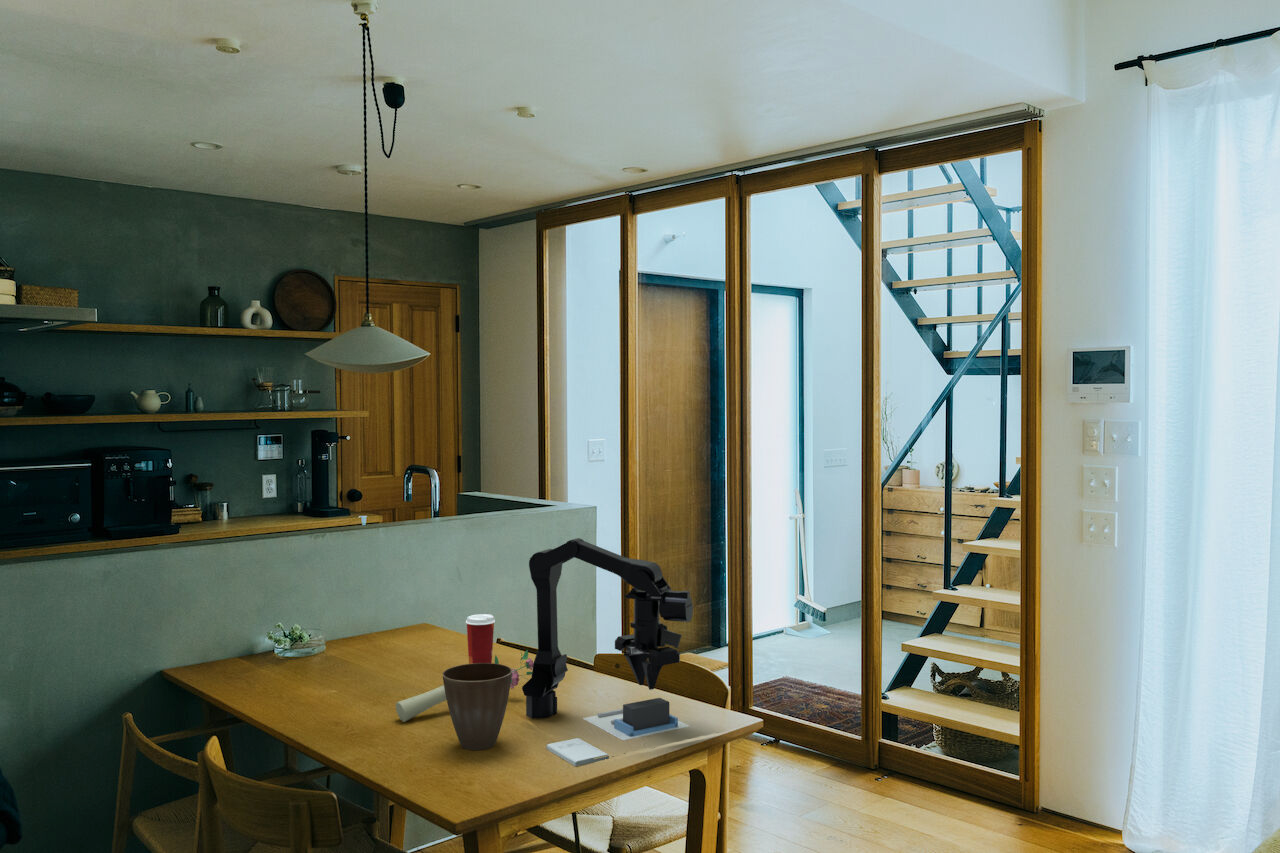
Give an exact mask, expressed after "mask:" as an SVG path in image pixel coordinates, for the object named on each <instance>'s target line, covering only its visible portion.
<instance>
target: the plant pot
mask: <svg viewBox="0 0 1280 853" xmlns="http://www.w3.org/2000/svg"><path fill="white" fill-rule="evenodd" d="M512 669H513V668H511V667H509V666H508V665H505V664H502V663H499V664H495V662H494V663H493V662H492V663H472V664H469V663H465V664H459V665H455V666H452V667H449V668H447V669H445V670H444V671H443V672H442V682H443V685H444V688H445V694H446V699H447V700H446V702H447V707H448V710H449V716H450V718H451V722H452V725H453V728H454V731H455V733H456V737H457V739H458V741H459V744H460V747H461V748H463V749H464V750H468V751H482V750H486V749H490V748H493V747H494V746H495V745H496V744H497V740H498V736H499V735H500V732H501V731H500V730H502V729H501V728H502V726H503V721H504V717H505V715H506V714H505V713H506V712H507V711H506V710H507V706H508V703H509V702H508V701H509V696H510V690H511V688H510V684H511V676H512Z"/></svg>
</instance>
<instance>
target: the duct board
mask: <svg viewBox="0 0 1280 853" xmlns="http://www.w3.org/2000/svg"><path fill="white" fill-rule="evenodd" d="M582 719H583V720H584V721H586V722H588V723H590V724H592V725H593V726H596V727H597V728H599V729H601V730H603V731H604V732H607V733H608V734H611V735H612V736H614V737H616V738H618V739H619V740H621V741H628V740H633V739H637V738H642V737H646V736H651V735H656V734H659V733H666V732H670V731H675V730H678V729H679V730H680V729H684V728H687V727H690V725H689V724H687V723H685V722H682V721H680V720H679V718H678V717H676V716H675V715H672V714H670V713H669V724H665V725H660V726H656V727H651V728H646V729H641V730H636V731H633V727H632V726H630V725H628V724H626V723H624V722H623V708H621V709H615V710H609V711H603V712H599V713H598V712H597V715H593V716H587V717H582Z"/></svg>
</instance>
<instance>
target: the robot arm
mask: <svg viewBox="0 0 1280 853" xmlns="http://www.w3.org/2000/svg"><path fill="white" fill-rule="evenodd" d="M572 559H578V560H580V561H581V562H582V561H583V562H585V563H587V564H589V565H593V566H595V567H597V568H600V569H602V570H604V571H606V572H607V571H608V572H609V573H612V574H615V575H617V576H618V577H620V578H621V579H622V580H623V581H624V582H625V583H627V584H628V585H630V586H631V587H632V588H631V589H630V591H629V592H628V593H627V594H625V596H624V597H625V599H628V600H630V599H631V600H633V622H632V621H631V622H630V624H629V625H630V626H629V627H630V628H631V629H633V634H627V635H626V634H625V635H620V636H617V638H615V640H614V650H617V651H620V652H623V651H624V649H625V648H626V651H625V652H624V653H623V657H625V659H626V661H627V663H628V664H629V667H630V668H631V670H632V672H633V674H634V677H635V679H636V681H637V684H638V686H643V685H644V684H645V680H646V684H647V687H648V690H649V691H652V690H654V689H655V687H656V684H657V680H658V678H659V676H660V672H661V670H662V668H663V666H666V665H671V664H679V663H680V662H681V652H679V651H678V650H677V649H679V647H680V642H681V639H682V634H679V633H677V632H673V631H671V630H668V626H667V625H666V624H664V623H663V622H660V618H662V619H663V620H664V621H670V622H682V623H690V622H691V621H692V618H693V614H694V603H693V600H692V597H691V592H690V590H682V591H680V590H672V587H671V586H670V585H669V583H668V582H667V580H666V579H665V577H664V576H663V571H662V569H661V566H660V565H659V564H658V563H656V562H654V561H649V560H644V559H638V558H631V557H630V558H629V557H625V556H623V555H620V554H618V553H615V552H612V551H610V550H607V549H606V548H602V547H600V546H598V545H595V544H593V543H590V542H587V541H585V540H583V539H582V538H579V537H576V538H572V539H569V540H568V541H566V543H563V544H562V545H559V546H557V547H554V548H547V549H543V550H540V551H537V552H535V553H534V554H533V555H532V556H531V557H529V561H528V568H529V573H530V578H531V581H532V582H533V583H532V584H533V586H534V587H535V591H536V612H537V613H536V614H537V615H536V616H537V619H536V620H537V621H536V622H537V623H536V624H537V651H536V655H535V658H534V661H533V668H532V670H531V672H532V675H531V677H530V678H529V679H528V680H527V682H526V683H524V684H523V685H522V686H521V690H522V693H523V695H524V696H525V697H526V698H525V699H526V700H525V712H526V713H525V715H526V716H527V717H528V718H529V719H531V720H535V719H536V720H537V719H539V720H542V719H549V718H551V717H553V716H555V715H557V714H558V697H557V695H556V694H557V693H556V690H557V688H558V686H559V684H560V683H561V682H562V681H563V680H564V679H565V677H566V673H567V672H568V671H569V669H568V667H567V660H568V656H567V654H566V653H565V654H562V653H561V651H560V649H559V641H558V640H559V639H558V638H559V637H558V634H559V633H558V602H557V601H558V600H557V598H558V595H557V589H558V584H559V581H560V579H561V577H562V576H561V575H562V569H563V564H564V563H566V562H569V561H570V560H572ZM666 645H668V646H666ZM670 646H672V647H674V648H672V647H670Z"/></svg>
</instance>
